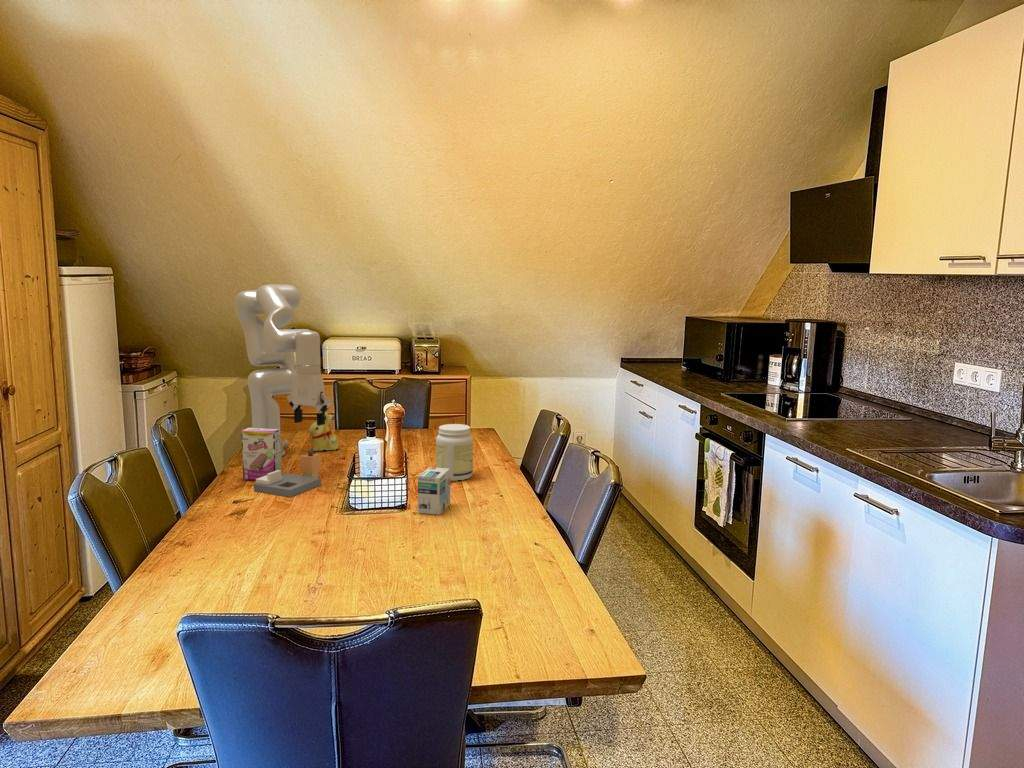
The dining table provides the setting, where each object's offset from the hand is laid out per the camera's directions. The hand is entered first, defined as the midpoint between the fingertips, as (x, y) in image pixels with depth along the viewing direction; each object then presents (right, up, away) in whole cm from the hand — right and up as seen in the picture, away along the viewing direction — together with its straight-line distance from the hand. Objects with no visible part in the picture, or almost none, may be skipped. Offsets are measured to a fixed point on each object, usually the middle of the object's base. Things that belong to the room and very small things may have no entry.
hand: (309, 423), depth 220 cm
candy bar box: (-15, -18, 0) cm, 24 cm away
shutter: (-9, -17, -10) cm, 22 cm away
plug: (0, -18, +3) cm, 18 cm away
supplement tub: (+46, -18, +7) cm, 50 cm away
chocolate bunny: (-6, -13, +38) cm, 41 cm away
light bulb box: (+43, -23, -25) cm, 55 cm away
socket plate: (-4, -20, -9) cm, 22 cm away
